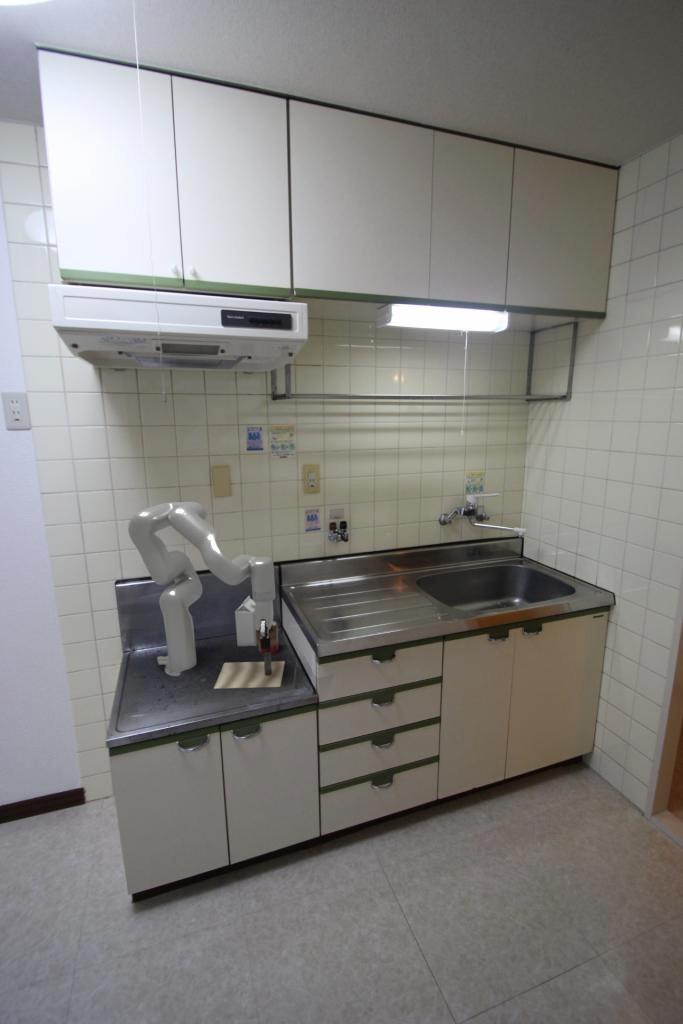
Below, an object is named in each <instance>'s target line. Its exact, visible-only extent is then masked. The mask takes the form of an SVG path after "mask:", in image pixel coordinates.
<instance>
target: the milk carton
mask: <svg viewBox="0 0 683 1024" xmlns="http://www.w3.org/2000/svg"><path fill="white" fill-rule="evenodd" d="M255 604H256V602H255V601H254V600H253V598H251V596H250V595H248V596H247V598H245V599H244V601H242V603H241V605H240V606H239V607H238V608H237V609H236V610H235V611H234V614H235V615H234V616H235V617H234V618H235V630H236V640H237V641H236V642H237V647H256V646H257V643H256V617H255Z"/></svg>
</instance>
